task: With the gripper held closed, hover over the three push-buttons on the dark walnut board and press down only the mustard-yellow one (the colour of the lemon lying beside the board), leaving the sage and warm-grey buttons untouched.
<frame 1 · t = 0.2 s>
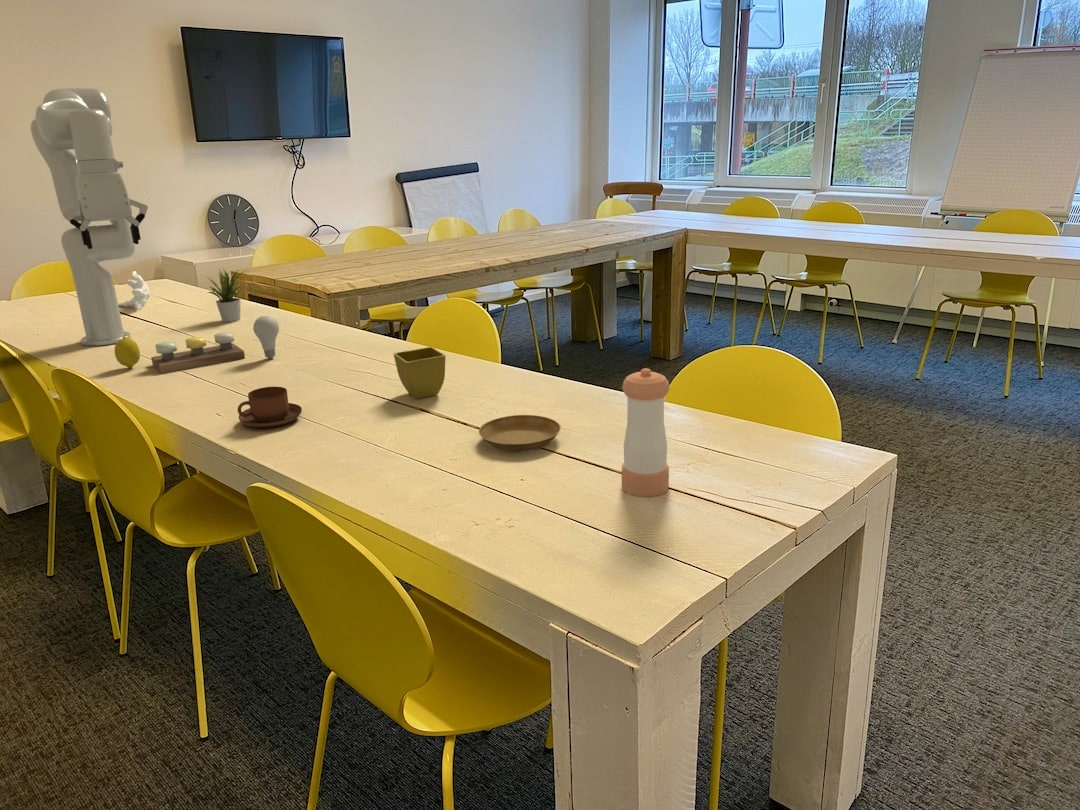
hand: (113, 245, 188), 31 cm above the table, tool pointing down, fingers open, 9 cm apart
button board: (199, 361, 208), on the table
flower pot: (422, 395, 176), on the table
sage button: (167, 352, 203), point 4 cm above the table, slide at 0.0 cm
pepper shaker: (645, 488, 128), on the table
cup and saucer: (271, 422, 164), on the table
lemon: (130, 368, 204), on the table
plant saucer: (520, 443, 149), on the table
grey button: (225, 342, 211), point 4 cm above the table, slide at 0.0 cm
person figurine: (140, 307, 277), on the table
lightbulb: (270, 359, 208), on the table
house plant: (235, 320, 252), on the table
yellow button: (196, 347, 207), point 4 cm above the table, slide at 0.0 cm
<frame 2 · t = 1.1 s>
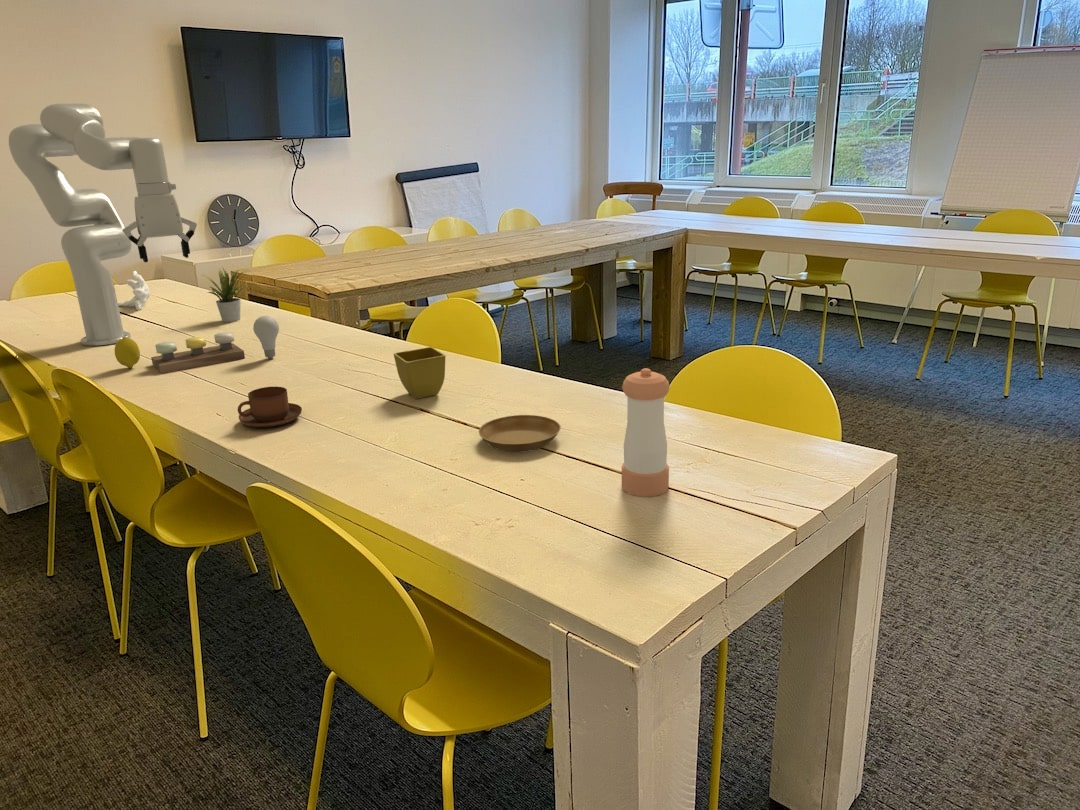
hand: (166, 259, 210), 24 cm above the table, tool pointing down, fingers open, 9 cm apart
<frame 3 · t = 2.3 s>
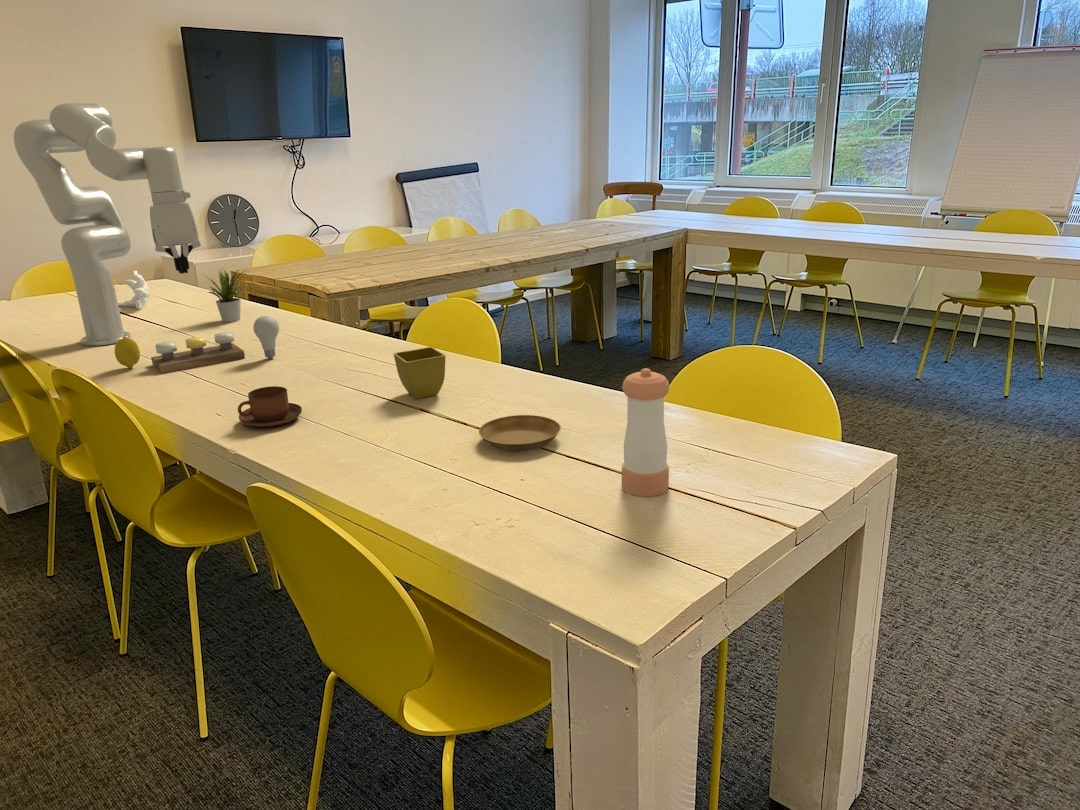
hand: (183, 272, 210), 21 cm above the table, tool pointing down, fingers closed
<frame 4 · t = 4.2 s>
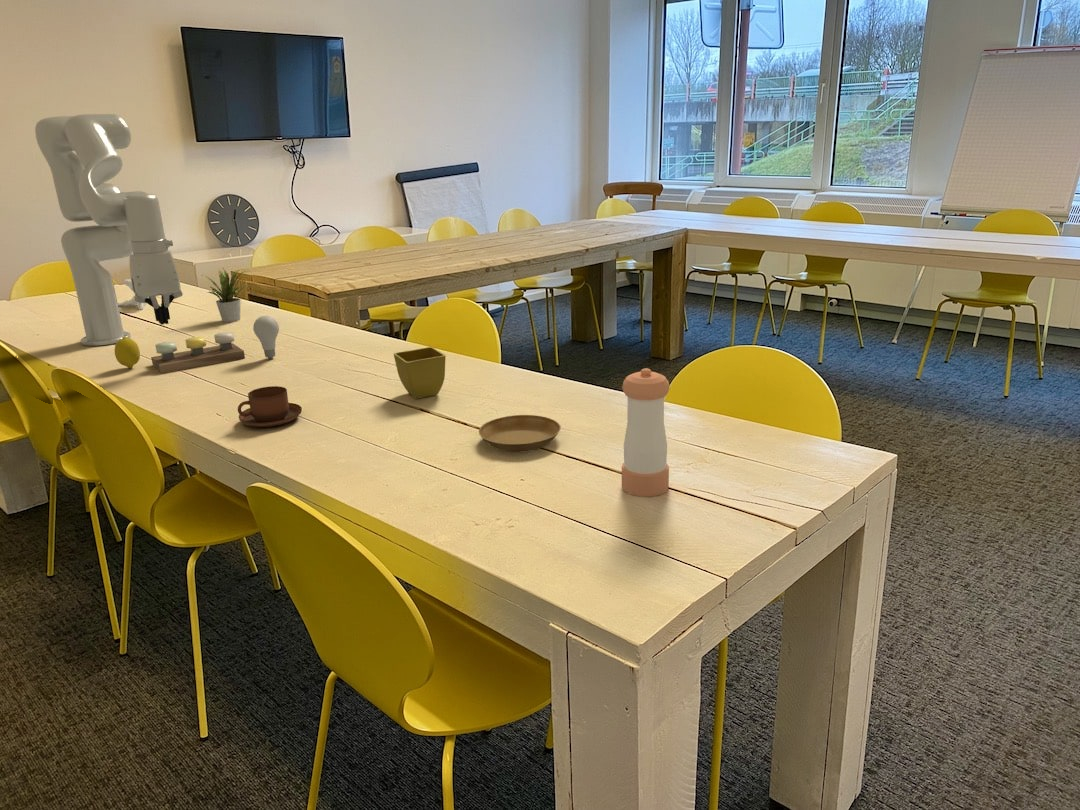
hand: (163, 323, 201), 11 cm above the table, tool pointing down, fingers closed
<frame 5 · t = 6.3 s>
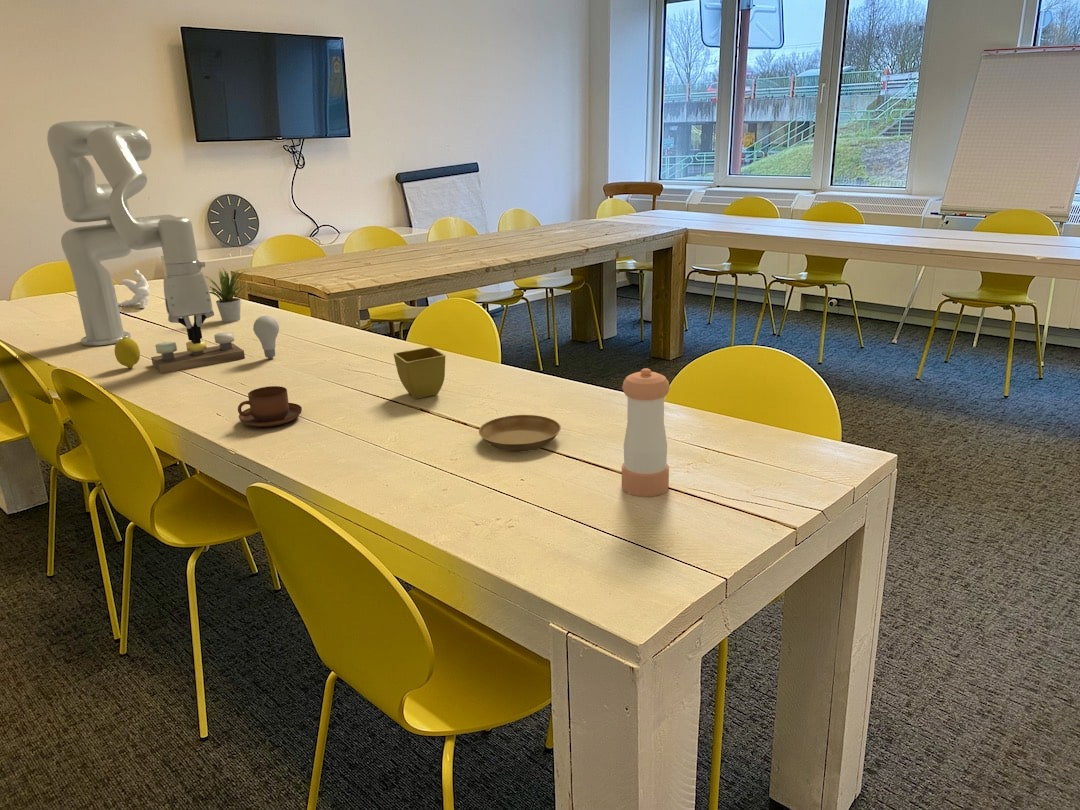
hand: (196, 342, 206), 5 cm above the table, tool pointing down, fingers closed
yellow button: (197, 350, 207), point 3 cm above the table, slide at -0.8 cm
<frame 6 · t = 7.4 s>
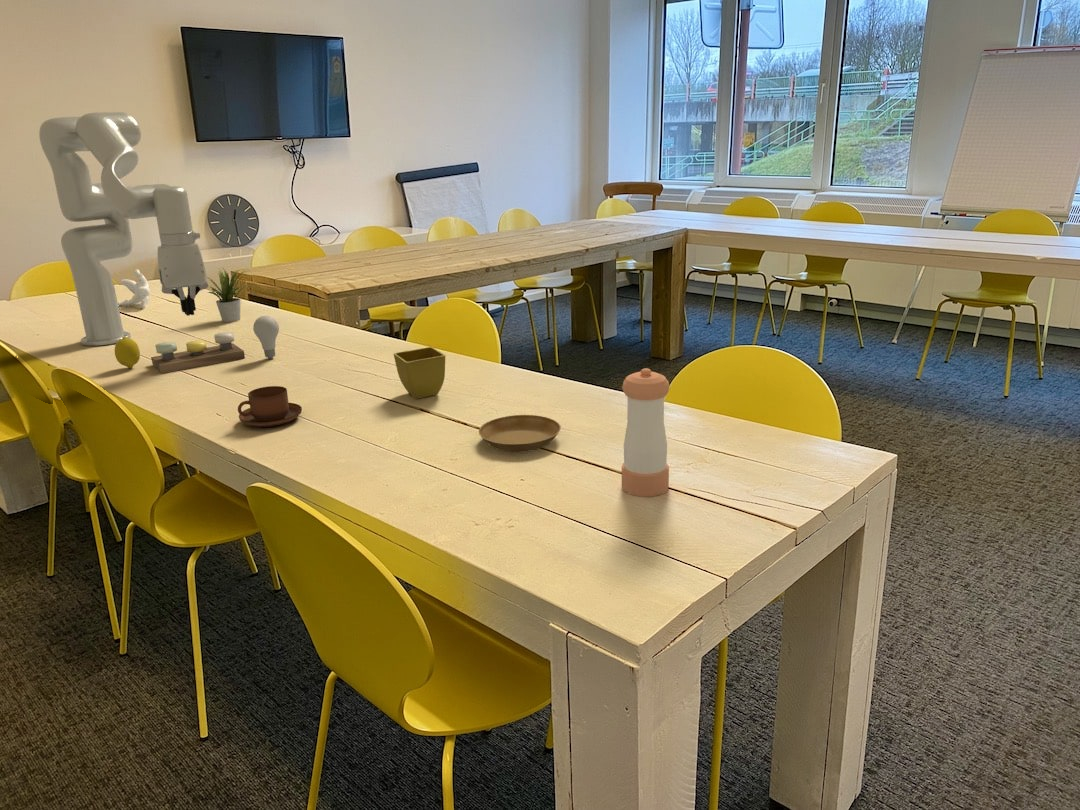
hand: (189, 314, 204), 12 cm above the table, tool pointing down, fingers closed
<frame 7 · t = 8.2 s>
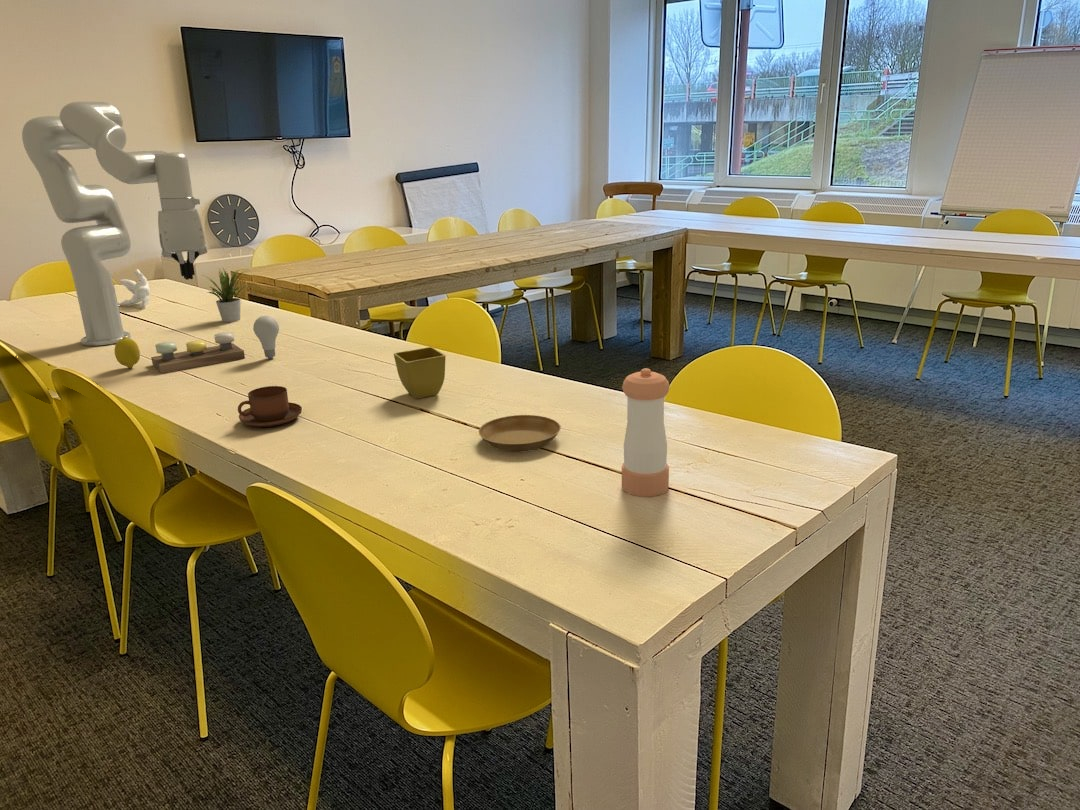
hand: (188, 278, 210), 20 cm above the table, tool pointing down, fingers closed
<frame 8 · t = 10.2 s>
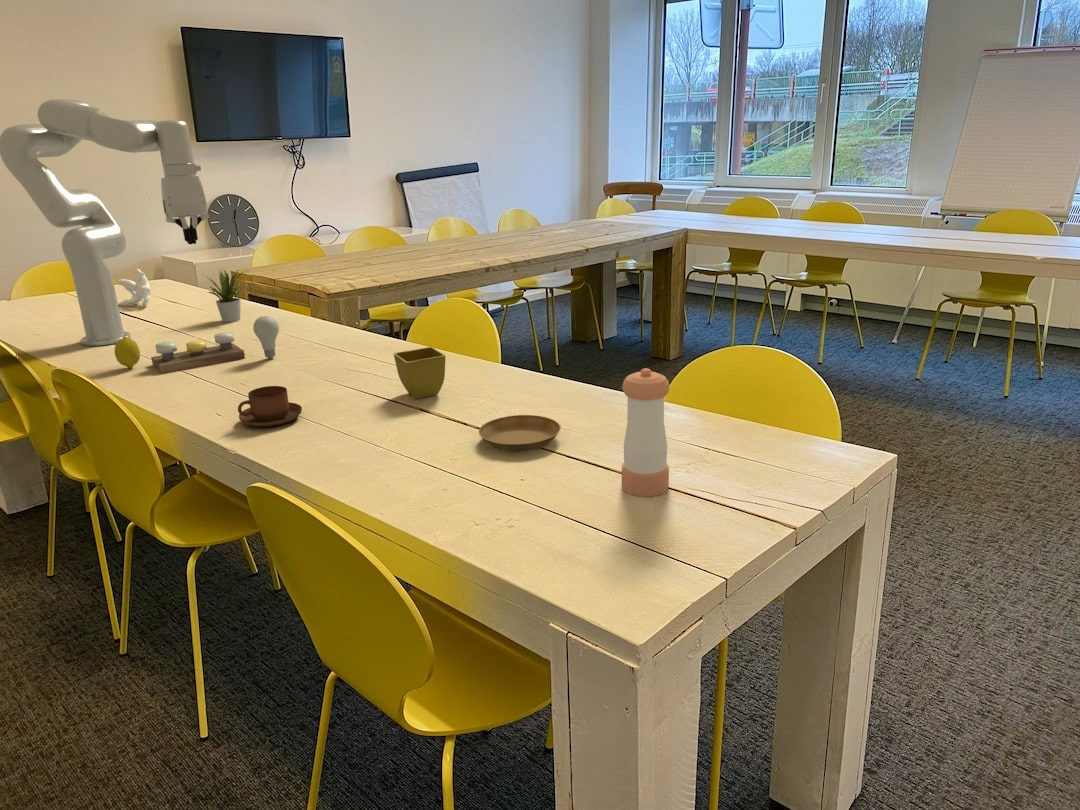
hand: (191, 243, 217), 27 cm above the table, tool pointing down, fingers closed
at the end: yellow button slide at -0.9 cm; sage button slide at 0.0 cm; grey button slide at 0.0 cm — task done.
